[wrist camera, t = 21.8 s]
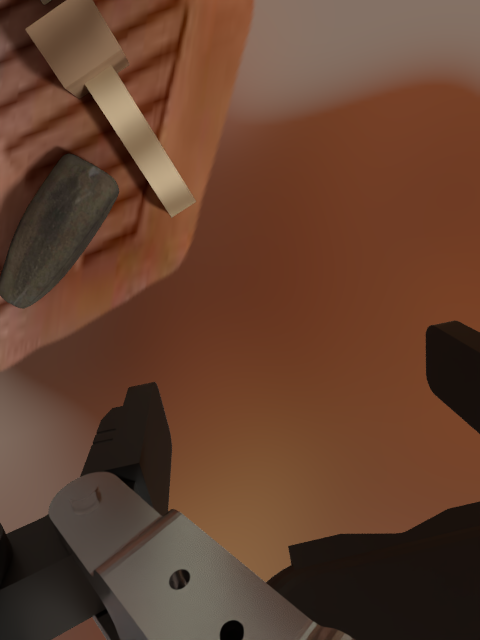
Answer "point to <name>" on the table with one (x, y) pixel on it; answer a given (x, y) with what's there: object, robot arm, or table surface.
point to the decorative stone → (56, 229)
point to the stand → (45, 1)
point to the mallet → (106, 89)
